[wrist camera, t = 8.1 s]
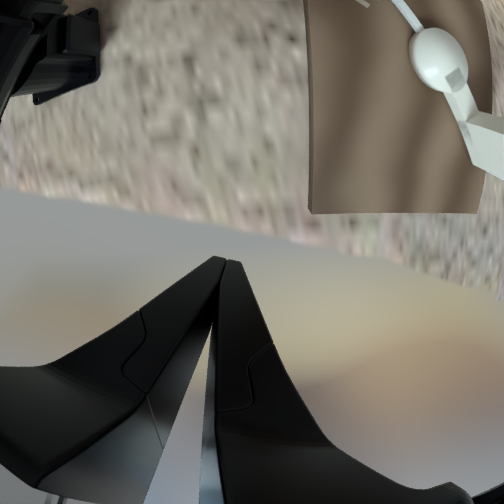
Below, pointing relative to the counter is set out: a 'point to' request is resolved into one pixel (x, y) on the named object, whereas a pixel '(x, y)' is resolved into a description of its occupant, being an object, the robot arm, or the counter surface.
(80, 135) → the counter surface
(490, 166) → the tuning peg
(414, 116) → the dial board
